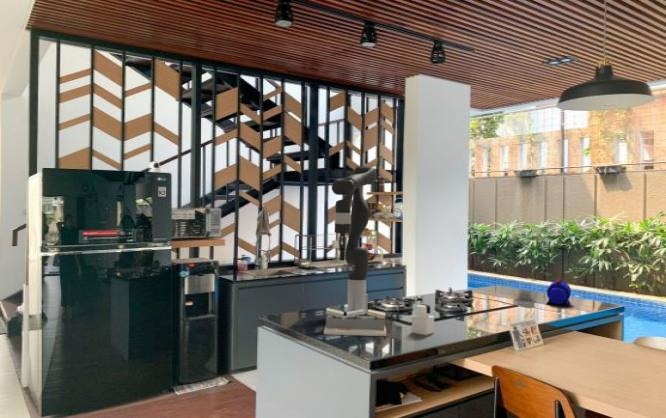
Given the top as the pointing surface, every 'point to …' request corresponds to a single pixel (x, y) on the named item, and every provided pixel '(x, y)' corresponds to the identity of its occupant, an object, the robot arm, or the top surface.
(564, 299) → the alarm clock
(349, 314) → the pale grey-blue box
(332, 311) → the plate
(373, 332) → the switch panel
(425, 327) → the medicine bottle
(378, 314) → the beige flat panel
